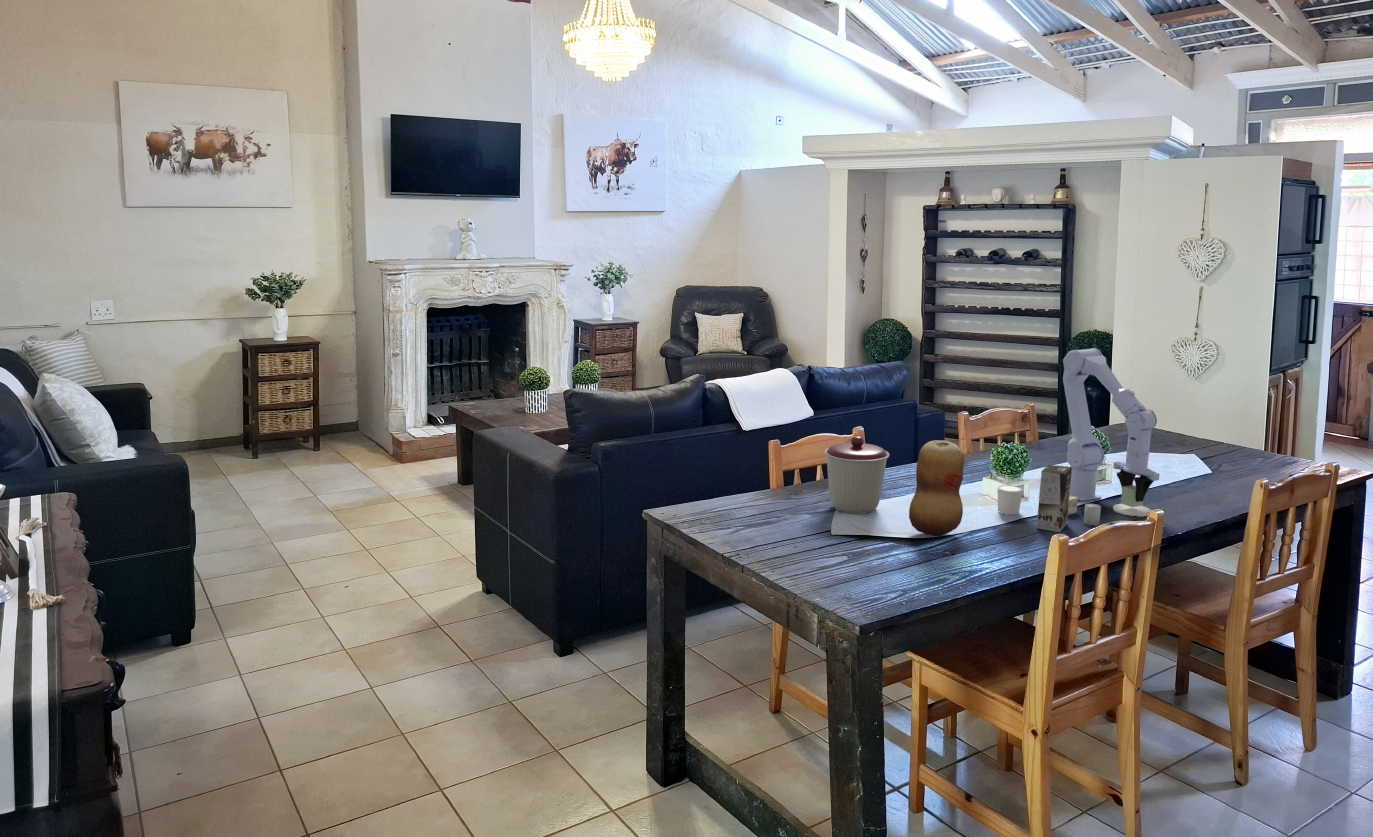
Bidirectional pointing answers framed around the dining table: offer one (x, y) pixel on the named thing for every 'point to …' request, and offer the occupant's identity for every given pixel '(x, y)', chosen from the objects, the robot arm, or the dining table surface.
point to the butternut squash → (938, 489)
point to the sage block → (1130, 496)
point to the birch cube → (1072, 505)
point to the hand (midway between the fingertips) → (1133, 499)
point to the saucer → (1131, 510)
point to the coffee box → (1054, 498)
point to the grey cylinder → (1092, 514)
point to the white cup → (1009, 499)
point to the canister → (855, 475)
